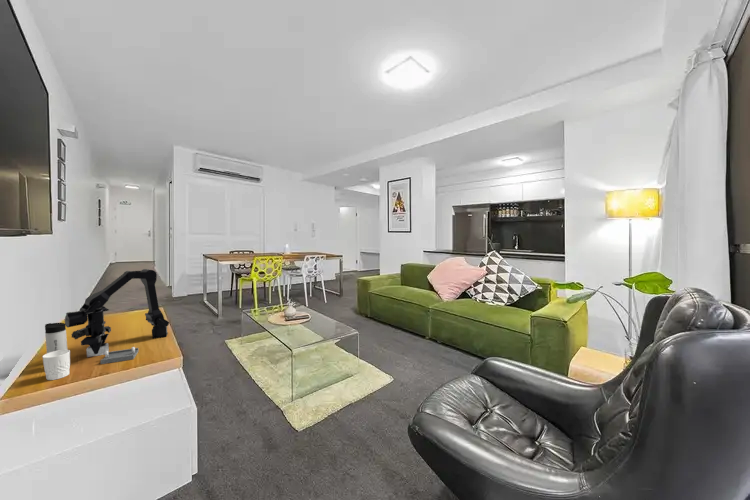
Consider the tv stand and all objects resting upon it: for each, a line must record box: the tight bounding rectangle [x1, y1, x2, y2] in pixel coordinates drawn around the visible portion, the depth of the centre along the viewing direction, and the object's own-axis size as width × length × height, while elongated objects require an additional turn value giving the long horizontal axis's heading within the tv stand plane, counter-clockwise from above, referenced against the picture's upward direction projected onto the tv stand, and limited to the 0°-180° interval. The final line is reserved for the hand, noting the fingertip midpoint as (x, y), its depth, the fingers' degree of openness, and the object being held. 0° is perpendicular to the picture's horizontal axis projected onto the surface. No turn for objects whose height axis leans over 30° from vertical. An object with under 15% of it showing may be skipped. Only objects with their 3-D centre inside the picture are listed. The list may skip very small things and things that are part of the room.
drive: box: [86, 342, 110, 358], centre depth 146 cm, size 7×4×4 cm, turn 118°
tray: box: [100, 346, 139, 365], centre depth 142 cm, size 12×10×4 cm
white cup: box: [42, 349, 71, 381], centre depth 124 cm, size 8×8×10 cm
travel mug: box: [44, 322, 68, 354], centre depth 132 cm, size 6×7×20 cm
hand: (98, 352), depth 146 cm, fingers closed on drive, 4 cm apart
